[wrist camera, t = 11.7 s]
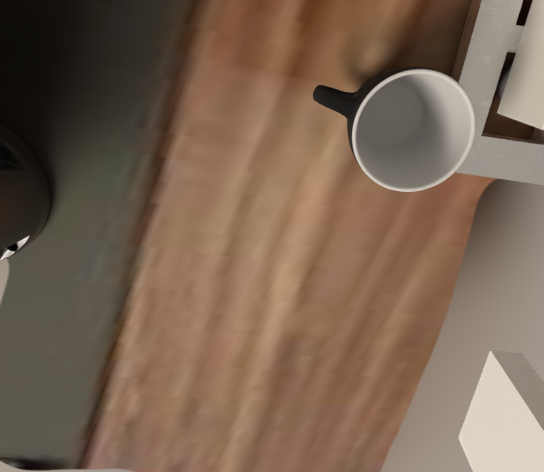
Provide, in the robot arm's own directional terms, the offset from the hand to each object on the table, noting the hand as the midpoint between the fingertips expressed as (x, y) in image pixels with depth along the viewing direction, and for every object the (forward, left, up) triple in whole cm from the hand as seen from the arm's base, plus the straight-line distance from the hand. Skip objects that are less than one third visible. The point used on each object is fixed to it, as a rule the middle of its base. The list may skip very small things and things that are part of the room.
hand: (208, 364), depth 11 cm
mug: (+9, +3, -36) cm, 37 cm away
